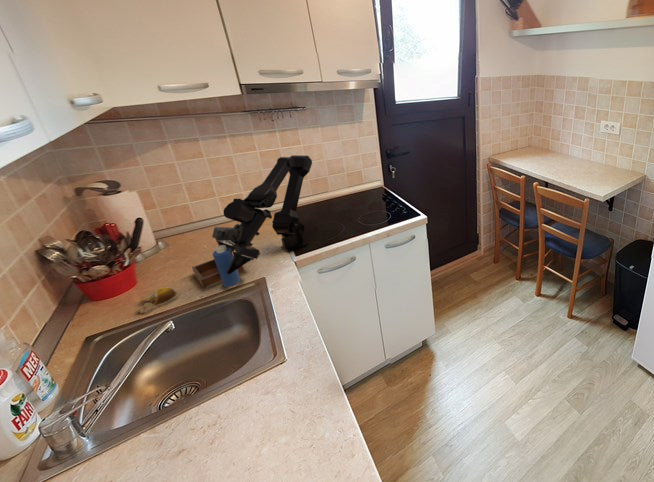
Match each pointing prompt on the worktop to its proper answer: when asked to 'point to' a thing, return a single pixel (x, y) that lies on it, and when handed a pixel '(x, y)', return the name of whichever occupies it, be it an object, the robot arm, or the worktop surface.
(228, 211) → the robot arm
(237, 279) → the bottle
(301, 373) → the worktop surface
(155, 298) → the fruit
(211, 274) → the tray
